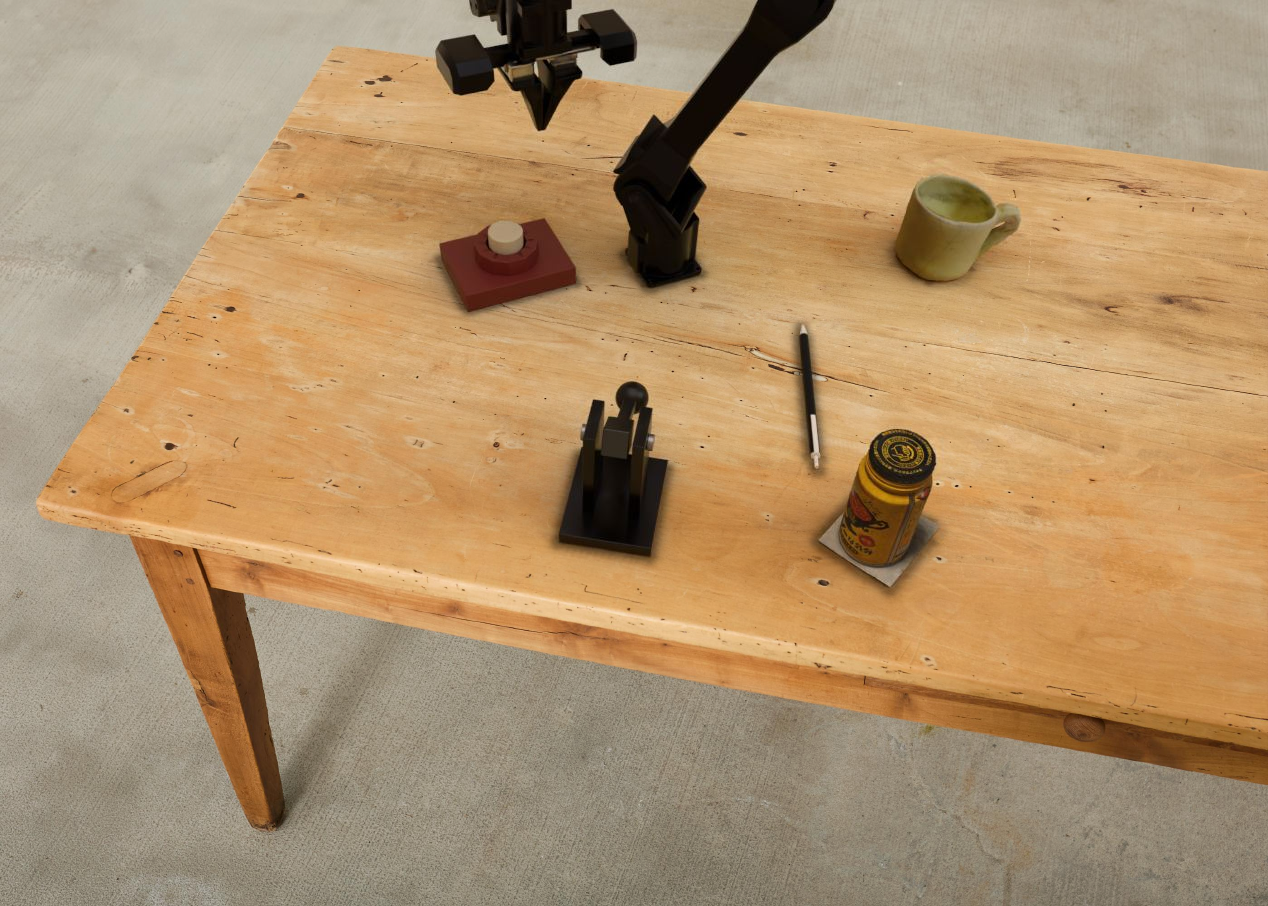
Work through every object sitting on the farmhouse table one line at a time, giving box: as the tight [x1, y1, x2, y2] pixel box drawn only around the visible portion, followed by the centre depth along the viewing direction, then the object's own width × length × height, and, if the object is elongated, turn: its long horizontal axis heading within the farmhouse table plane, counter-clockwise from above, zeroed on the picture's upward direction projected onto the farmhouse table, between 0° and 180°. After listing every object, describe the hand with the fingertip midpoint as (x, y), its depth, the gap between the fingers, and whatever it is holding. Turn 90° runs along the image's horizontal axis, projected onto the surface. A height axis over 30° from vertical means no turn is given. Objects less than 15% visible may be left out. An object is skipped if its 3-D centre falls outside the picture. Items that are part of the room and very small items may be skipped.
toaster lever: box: [601, 380, 650, 459], centre depth 91 cm, size 12×3×3 cm, turn 171°
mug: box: [894, 173, 1022, 282], centre depth 114 cm, size 12×10×10 cm
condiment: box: [817, 428, 941, 588], centre depth 88 cm, size 7×8×12 cm
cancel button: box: [488, 220, 523, 255], centre depth 109 cm, size 4×4×2 cm
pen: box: [798, 323, 821, 470], centre depth 103 cm, size 1×19×1 cm, turn 178°
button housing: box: [438, 217, 577, 313], centre depth 111 cm, size 12×9×4 cm
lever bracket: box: [558, 398, 669, 557], centre depth 89 cm, size 10×8×11 cm
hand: (540, 128), depth 108 cm, fingers closed
